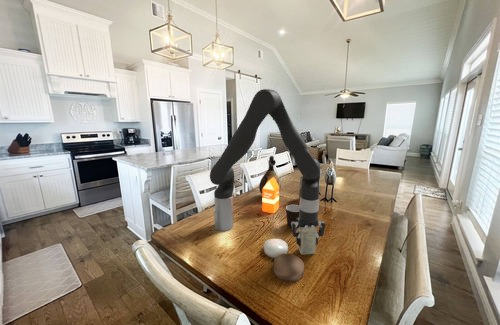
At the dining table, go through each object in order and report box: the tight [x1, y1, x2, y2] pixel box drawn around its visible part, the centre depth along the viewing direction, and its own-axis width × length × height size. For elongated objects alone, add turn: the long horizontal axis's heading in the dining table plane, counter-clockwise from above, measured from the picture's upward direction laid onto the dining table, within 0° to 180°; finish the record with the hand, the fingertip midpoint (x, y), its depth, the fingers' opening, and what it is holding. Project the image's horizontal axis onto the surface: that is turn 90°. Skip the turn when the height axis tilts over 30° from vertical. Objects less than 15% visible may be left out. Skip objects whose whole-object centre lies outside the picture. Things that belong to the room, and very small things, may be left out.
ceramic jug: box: [258, 155, 282, 195], centre depth 146 cm, size 17×15×30 cm
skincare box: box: [298, 226, 317, 255], centre depth 87 cm, size 6×4×12 cm
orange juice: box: [261, 177, 280, 214], centre depth 127 cm, size 8×9×20 cm
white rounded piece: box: [263, 238, 289, 259], centre depth 88 cm, size 10×10×2 cm
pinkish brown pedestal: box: [273, 253, 305, 283], centre depth 77 cm, size 11×11×3 cm
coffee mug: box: [285, 204, 299, 230], centre depth 108 cm, size 12×9×10 cm
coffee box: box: [298, 175, 303, 199], centre depth 142 cm, size 9×6×16 cm
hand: (306, 244), depth 87 cm, fingers closed on skincare box, 6 cm apart
